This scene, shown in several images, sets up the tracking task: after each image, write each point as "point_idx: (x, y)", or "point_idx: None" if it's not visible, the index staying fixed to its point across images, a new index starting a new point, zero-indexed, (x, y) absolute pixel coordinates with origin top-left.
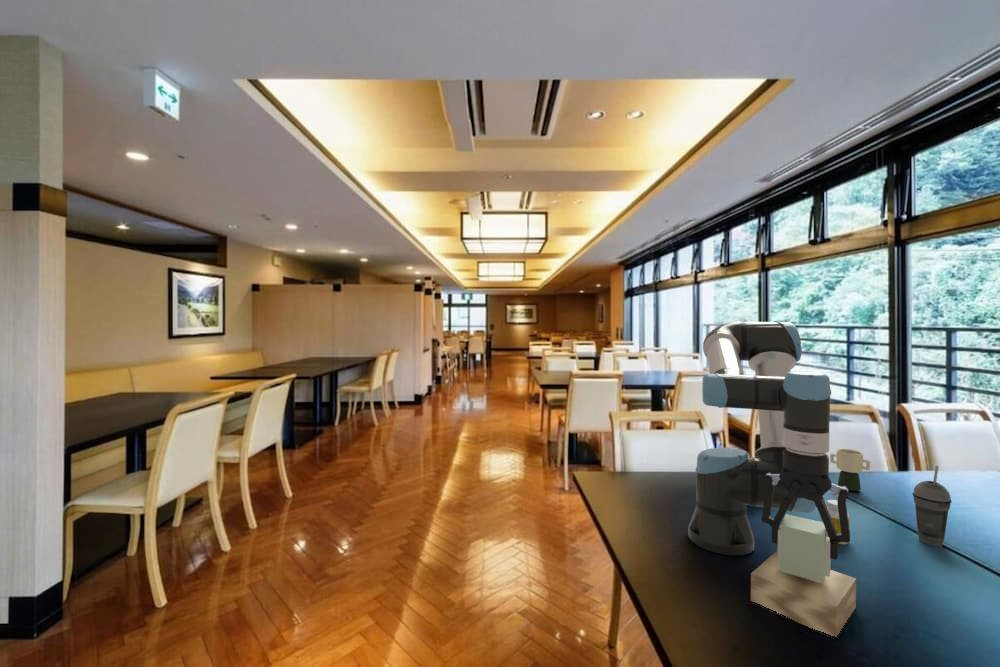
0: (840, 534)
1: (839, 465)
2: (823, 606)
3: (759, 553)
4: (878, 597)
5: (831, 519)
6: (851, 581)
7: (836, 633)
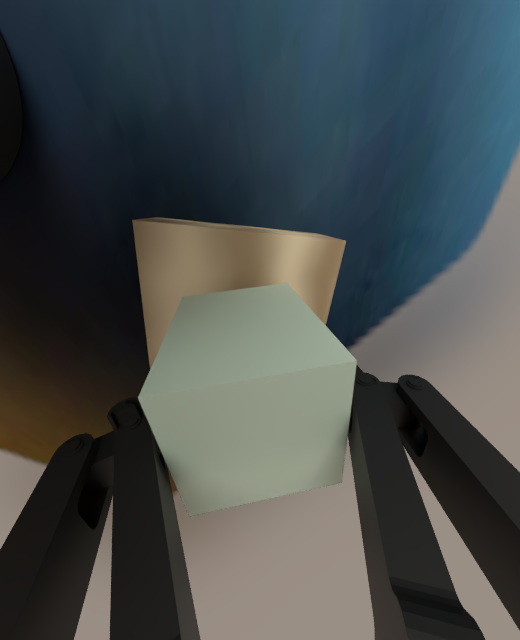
0: (394, 418)
1: None
2: None
3: (37, 62)
4: (361, 136)
5: (402, 453)
6: (335, 269)
7: None
